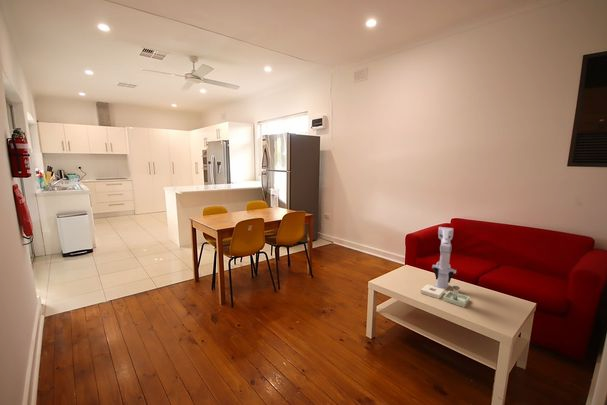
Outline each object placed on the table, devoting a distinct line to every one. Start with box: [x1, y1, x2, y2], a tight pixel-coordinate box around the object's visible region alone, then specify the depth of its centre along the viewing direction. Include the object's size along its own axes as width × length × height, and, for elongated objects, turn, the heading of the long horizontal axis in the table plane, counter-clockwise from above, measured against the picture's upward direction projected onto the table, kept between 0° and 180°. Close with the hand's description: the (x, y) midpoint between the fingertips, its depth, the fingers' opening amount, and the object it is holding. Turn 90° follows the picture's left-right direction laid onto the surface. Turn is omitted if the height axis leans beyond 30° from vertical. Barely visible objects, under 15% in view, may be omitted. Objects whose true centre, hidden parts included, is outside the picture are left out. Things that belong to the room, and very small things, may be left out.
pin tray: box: [442, 290, 471, 308], centre depth 181 cm, size 13×13×2 cm
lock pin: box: [452, 285, 461, 301], centre depth 181 cm, size 4×4×9 cm
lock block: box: [420, 284, 446, 300], centre depth 191 cm, size 12×12×2 cm
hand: (442, 280), depth 187 cm, fingers open, 7 cm apart
